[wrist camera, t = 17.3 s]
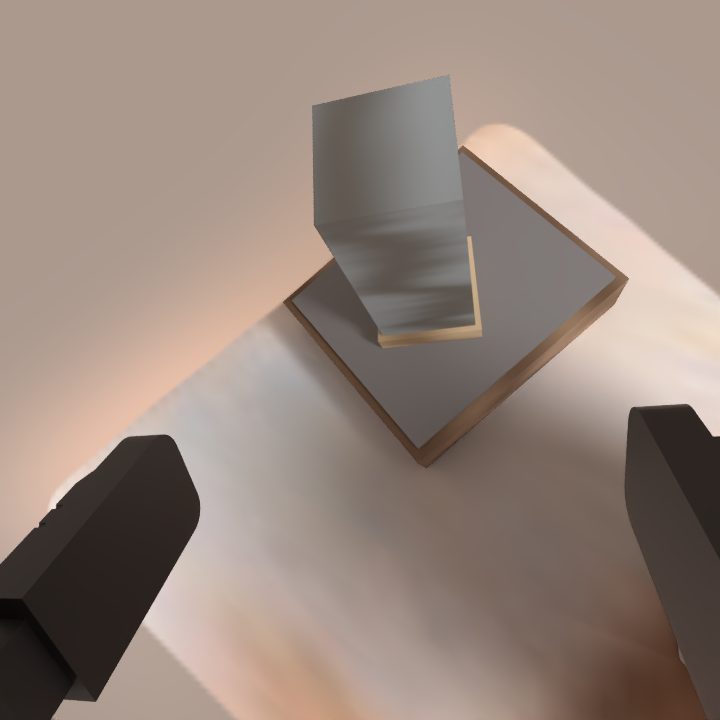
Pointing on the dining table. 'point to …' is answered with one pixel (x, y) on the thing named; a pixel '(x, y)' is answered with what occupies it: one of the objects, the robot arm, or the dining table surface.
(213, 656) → the dining table surface
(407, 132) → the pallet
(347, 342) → the plate
